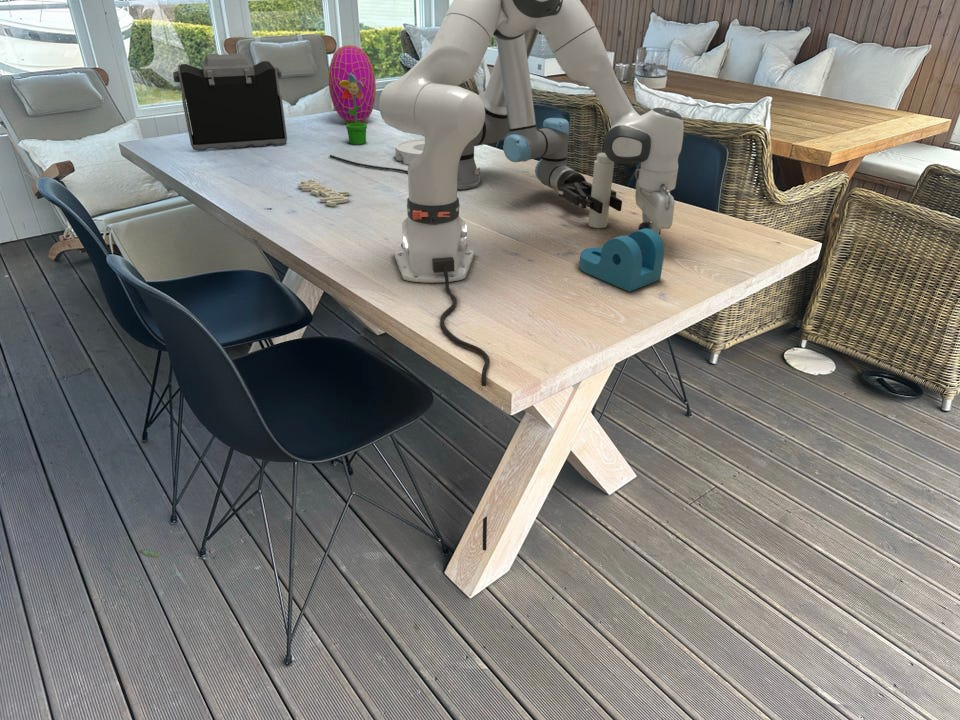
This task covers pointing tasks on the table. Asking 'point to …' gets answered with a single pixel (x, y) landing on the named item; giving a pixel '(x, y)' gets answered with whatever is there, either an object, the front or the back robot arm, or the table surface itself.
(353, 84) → the potted flower
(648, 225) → the lid
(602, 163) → the beige long cylinder
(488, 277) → the table surface
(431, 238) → the front robot arm
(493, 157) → the table surface
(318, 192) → the decorative sign
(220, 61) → the electronic device
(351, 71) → the decorative egg
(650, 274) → the camera mount
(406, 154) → the ashtray
